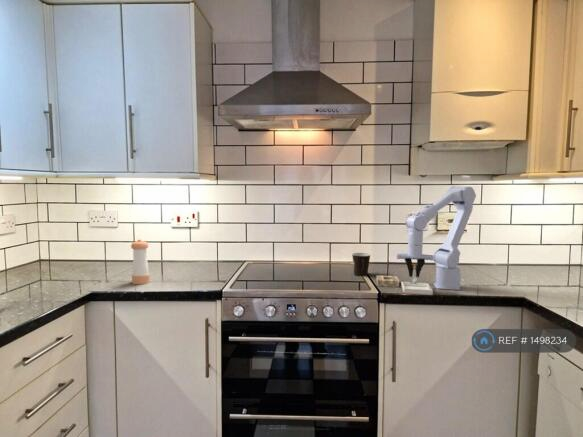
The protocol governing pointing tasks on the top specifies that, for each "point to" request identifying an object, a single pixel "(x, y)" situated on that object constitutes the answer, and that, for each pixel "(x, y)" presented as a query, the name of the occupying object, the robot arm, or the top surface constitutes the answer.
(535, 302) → the top surface
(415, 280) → the pin
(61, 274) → the top surface
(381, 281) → the block
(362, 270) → the coffee mug
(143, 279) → the pepper shaker
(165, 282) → the top surface
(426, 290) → the tray
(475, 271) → the top surface
